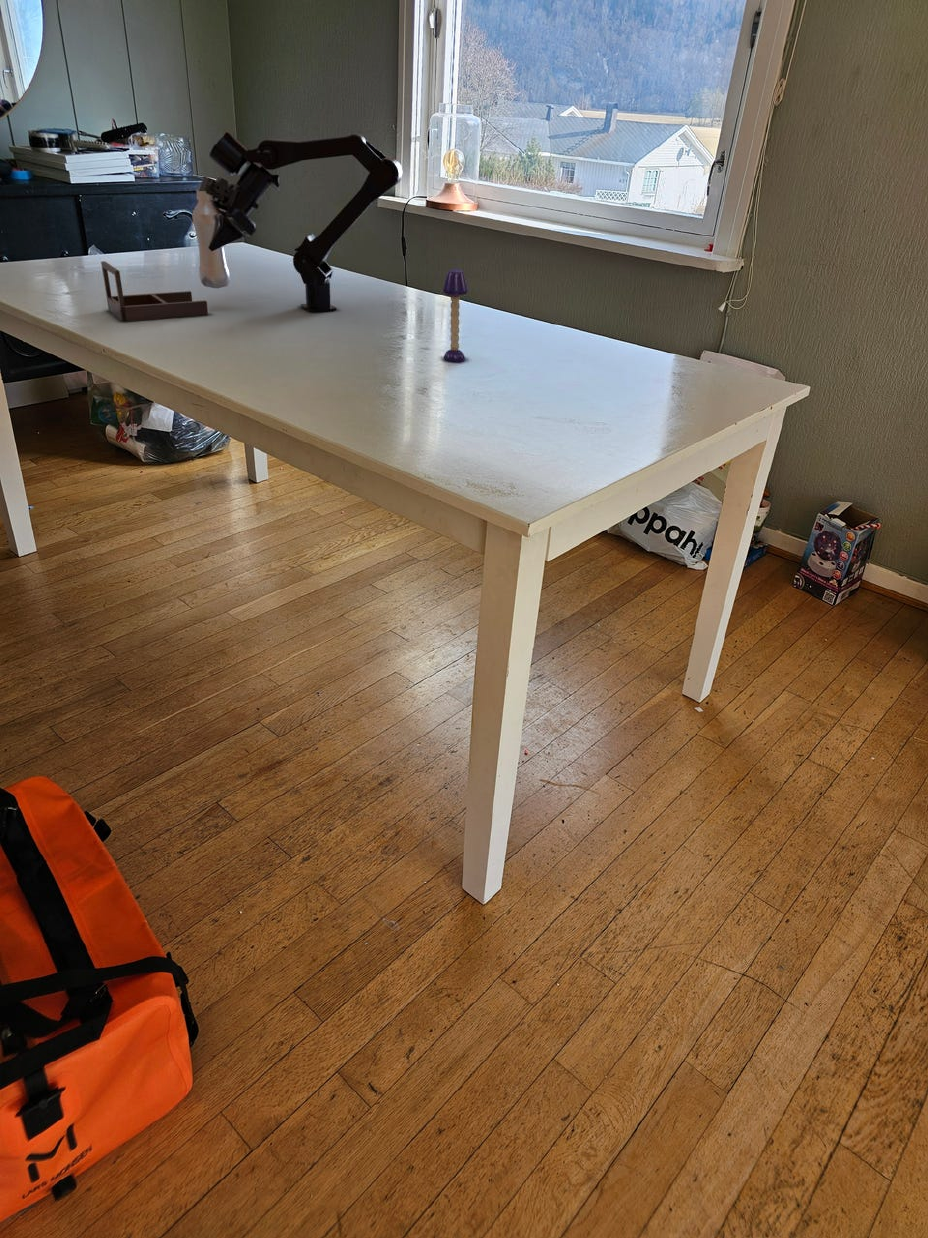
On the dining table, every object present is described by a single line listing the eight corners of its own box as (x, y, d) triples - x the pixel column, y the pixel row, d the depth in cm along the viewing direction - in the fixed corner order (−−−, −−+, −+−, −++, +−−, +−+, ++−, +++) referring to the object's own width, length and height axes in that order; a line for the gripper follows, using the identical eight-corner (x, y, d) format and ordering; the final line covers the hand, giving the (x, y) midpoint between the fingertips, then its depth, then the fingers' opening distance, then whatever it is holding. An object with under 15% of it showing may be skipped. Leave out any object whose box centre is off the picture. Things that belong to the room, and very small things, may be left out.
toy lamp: (443, 362, 168) (447, 272, 159) (438, 356, 172) (441, 268, 163) (467, 362, 169) (472, 272, 160) (461, 355, 173) (465, 268, 164)
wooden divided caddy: (208, 315, 190) (203, 266, 185) (122, 321, 181) (114, 270, 175) (191, 304, 198) (186, 257, 192) (108, 310, 188) (100, 261, 183)
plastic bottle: (226, 291, 191) (216, 192, 180) (196, 289, 191) (185, 190, 180) (234, 285, 196) (225, 188, 185) (205, 283, 196) (194, 187, 185)
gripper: (205, 157, 188) (162, 214, 189) (236, 165, 175) (190, 226, 176) (242, 196, 196) (201, 250, 197) (275, 206, 183) (231, 264, 184)
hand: (205, 247), depth 188 cm, fingers closed on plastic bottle, 5 cm apart
